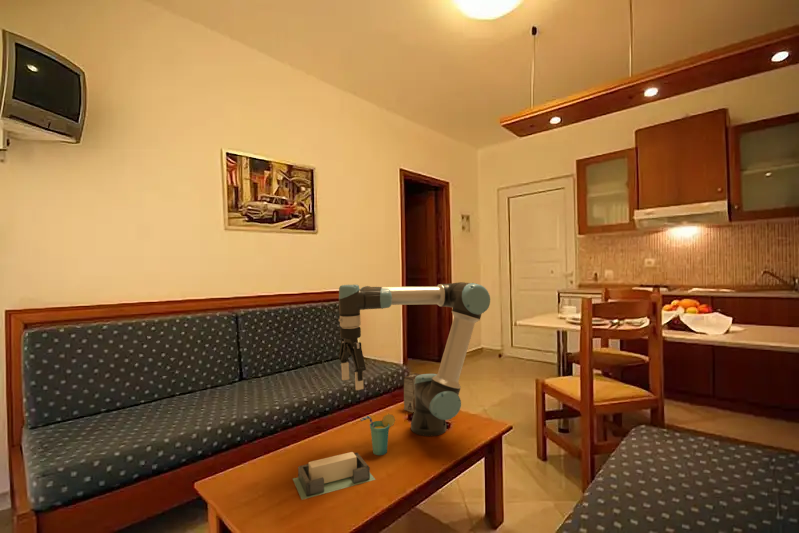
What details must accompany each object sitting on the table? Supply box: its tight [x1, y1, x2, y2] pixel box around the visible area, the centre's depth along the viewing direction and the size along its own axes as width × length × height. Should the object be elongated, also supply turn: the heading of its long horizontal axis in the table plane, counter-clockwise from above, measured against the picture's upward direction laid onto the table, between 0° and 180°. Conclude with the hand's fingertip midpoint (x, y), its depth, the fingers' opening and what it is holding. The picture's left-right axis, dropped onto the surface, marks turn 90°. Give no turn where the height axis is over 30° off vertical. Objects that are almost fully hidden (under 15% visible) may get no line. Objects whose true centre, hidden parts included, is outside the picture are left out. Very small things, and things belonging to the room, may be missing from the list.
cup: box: [360, 412, 396, 456], centre depth 147 cm, size 14×8×15 cm, turn 123°
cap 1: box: [297, 463, 324, 497], centre depth 126 cm, size 5×11×4 cm, turn 27°
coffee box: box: [403, 372, 422, 413], centre depth 192 cm, size 9×6×16 cm
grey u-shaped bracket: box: [350, 452, 371, 484], centre depth 133 cm, size 5×11×4 cm, turn 27°
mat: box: [292, 472, 376, 501], centre depth 129 cm, size 24×13×1 cm, turn 117°
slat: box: [308, 451, 357, 484], centre depth 129 cm, size 15×4×6 cm, turn 117°
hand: (352, 384), depth 145 cm, fingers open, 13 cm apart
